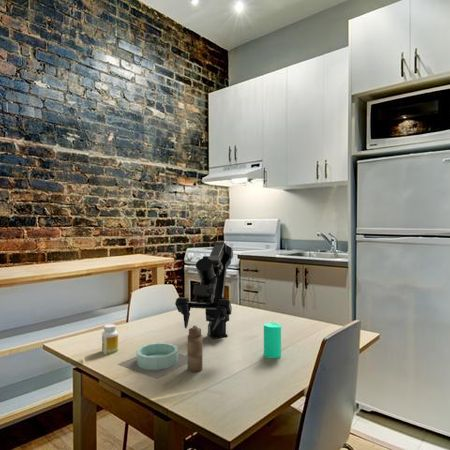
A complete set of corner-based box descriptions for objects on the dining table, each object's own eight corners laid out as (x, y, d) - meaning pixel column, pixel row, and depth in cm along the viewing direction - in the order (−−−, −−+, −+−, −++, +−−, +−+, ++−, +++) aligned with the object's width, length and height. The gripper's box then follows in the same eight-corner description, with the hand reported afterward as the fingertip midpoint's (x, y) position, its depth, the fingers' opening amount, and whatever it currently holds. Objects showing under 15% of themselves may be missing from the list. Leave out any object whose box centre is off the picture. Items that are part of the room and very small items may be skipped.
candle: (270, 359, 118) (270, 323, 118) (260, 353, 123) (260, 319, 123) (284, 356, 120) (284, 321, 120) (274, 350, 126) (274, 317, 126)
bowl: (171, 351, 123) (171, 340, 123) (182, 365, 112) (182, 353, 112) (133, 357, 118) (133, 346, 118) (141, 372, 106) (141, 360, 106)
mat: (158, 349, 127) (158, 347, 127) (196, 360, 117) (196, 358, 117) (117, 366, 112) (117, 364, 112) (157, 380, 102) (157, 378, 102)
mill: (199, 367, 112) (199, 322, 111) (204, 372, 107) (204, 326, 107) (185, 369, 110) (185, 324, 110) (190, 375, 106) (190, 328, 105)
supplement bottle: (121, 351, 125) (121, 324, 125) (111, 356, 120) (111, 328, 120) (108, 349, 127) (108, 322, 127) (98, 354, 122) (98, 327, 122)
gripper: (176, 274, 120) (165, 314, 109) (230, 275, 117) (223, 317, 106) (183, 292, 128) (173, 331, 117) (234, 294, 124) (228, 335, 114)
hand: (199, 328), depth 113 cm, fingers open, 9 cm apart
